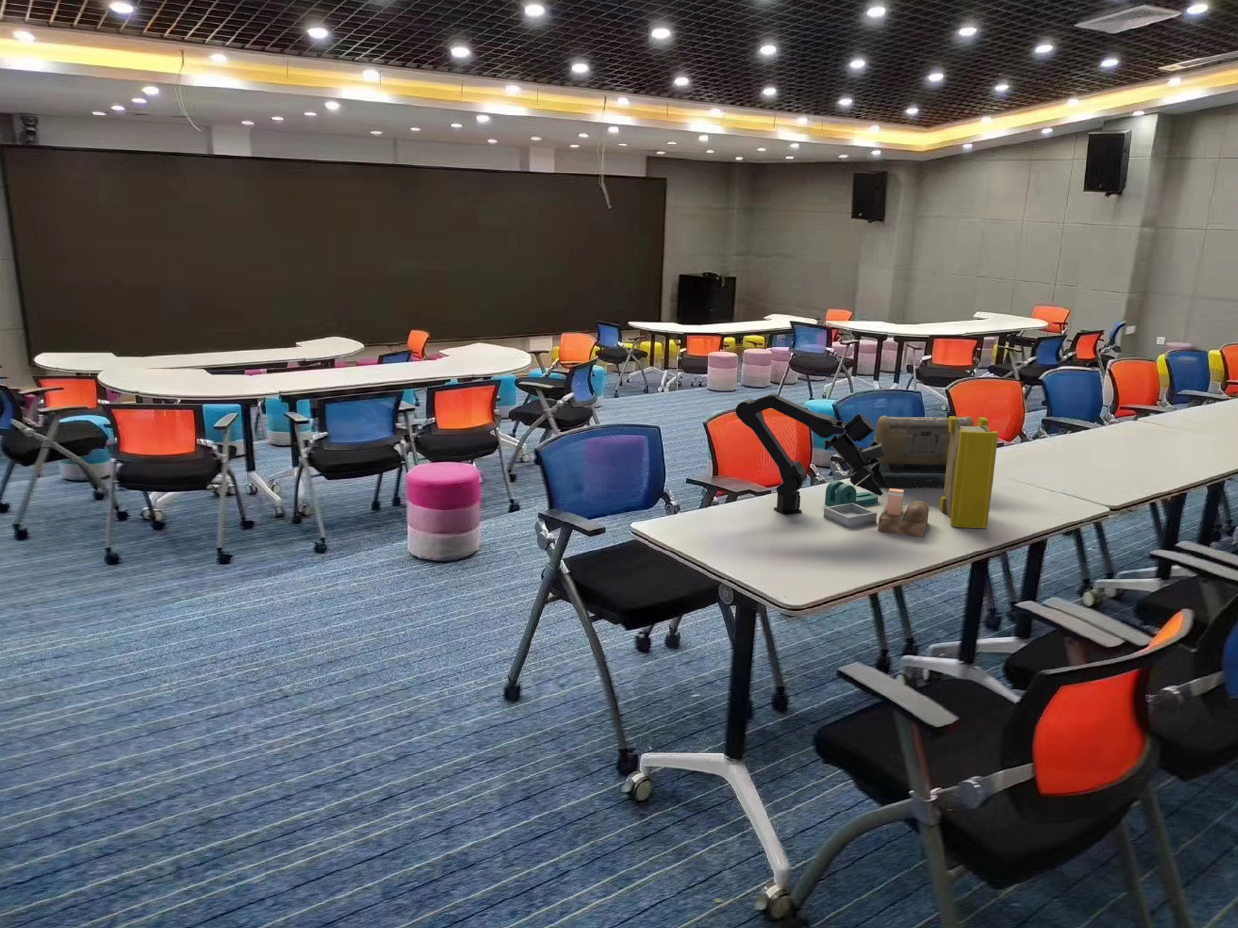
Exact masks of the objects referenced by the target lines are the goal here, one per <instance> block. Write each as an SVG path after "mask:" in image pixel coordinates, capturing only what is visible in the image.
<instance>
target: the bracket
mask: <svg viewBox="0 0 1238 928" xmlns="http://www.w3.org/2000/svg"><path fill="white" fill-rule="evenodd" d="M824 496H825V498H824V505H825V506H826V507H830V506H836V505H842V504H848V503H854V504H857V505H859V506H862V507H865V506H869V505H870V506H871V505H875V504H876V505H877V504H878V502H879V495H877V494H875V493H872V492H870V491H859V492H857V488H856V487H854V485H850V484H847V483H844V482H842V481H840V480H836V479H835V480H832V481H830V482H829V483H828V484H827V487H826V489H825V495H824Z"/></svg>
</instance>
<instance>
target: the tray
mask: <svg viewBox="0 0 1238 928" xmlns="http://www.w3.org/2000/svg"><path fill="white" fill-rule="evenodd" d="M877 517H878V512H876V511H874V510H871V509H869V508H866V507H865V506H859V505H857V504H854V503H848V504H842V505H836V506H825V507H824V508H823V518H825V519H828V520H829V521H832V522H834V523H837V524H839V525H841V526H844V527H846V528H852V527H857V526H863V525H869V524H873V523H877V519H878V518H877Z"/></svg>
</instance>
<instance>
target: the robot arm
mask: <svg viewBox="0 0 1238 928" xmlns="http://www.w3.org/2000/svg"><path fill="white" fill-rule="evenodd" d="M769 409H772V410H775V411H776V412H778V413H780V414H783V415H785V416H787V417H789V418H791V419H793V420H795V421H798V422H799V423H801V424H804V426H807V428H809V430H810V431H811V432H812V433H815V434H816V435H817V436H818V437H820V438H821V439H825V440H824V451H826V450H827V451H828V449H830V447H831V449H833V450H834V451H835V452H836V453H837V455H838V456H839V457H840V458H841V459H842V461H841V462H842V463H843V464H844V465H845V464H846V465H848V467H849V468H850V469H851V470H852V471H851V473H852V474H851V475H850V476H849V477H850V478H849V481H850V483H851V484H852V486H853V487H854V486H856V487H858V488H861V489H862V490H863V489H864V490H866V491H867V492H870V493H875V494H877V495H878V497H881V496H883V494H884V493H883V491H882V489H881V488H880V487H879V486H878V485H877V484H879V485H881V486H882V488H888V487H887V486H888V485H887V483H886V481H885V479H884V477H883V475H882V473H881V471H880V462H878V461H879V460H880V457H883V456H884V454H886V452H885V450H884V445H882V443H879V442H878V441H874V440H873V441H872V442H871V443H870V446H868V448H863V447H862V446H860V445H859V446H858V445H857V444H856V443H855V442H860V443H861V442H862V441H863V440H864V439H866V438H867V437H868V436H869V435H871V434H872V433H874V431H876V428H875V424H873V422H872V421H871V420H870V419H869V418H867V417H866V416H864V415H862V413H860V412H859V413H857V414H856V415H855V416H854V417H853V419H851V420H850V421H848V422H846V421H842V420H838V419H837V418H836V417H834V416H832V415H828V414H826V413H820V412H815V411H811V410H809V409H807V408H805V407H803V406H801V405H798V404H797V403H794V402H792V401H790V400H788V399H786V398H784V397H782V396H780V395H779V394H778V393H775V392H773V393H770V394H768V395H765V396H762V397H760V398H757V399H752V398H748V399H745V400H743V401H741V402H740V403H738V404H737V406H736V407H735V415H736V417H737V418H738V419H739V421H741V422H742V423H743V425H745V426H747V427H748V428H749V429H751V430H752V431H753V433H754V434H755V435H756V437H757V438H758V440H759V441H760V443H761V444H762V446H763V447H764V448H765V450H766V451H767V453H768V454H769V456H770V457H771V459H772V460H773V462H774V463H775V465H776V466H777V468H778V471H779V475H780V478H781V481H782V482H781V483H780V484H779V485H778V486H777V487H776V489H775V490H776V493H777V494H776V495H777V499H776V506H775V507H773V510H775V511H777V512H779V513H781V514H783V515H790V514H791V515H792V514H797V513H802V512H803V509H800V508H801V495H800V494H801V493H800V491H799V490H800V489H801V488H802V487H803V486H804V485H805V484H806V483H807V480H808V473H807V472H808V470H807V469H806V468H805V467H804V466H803V464H802V462H801V460H799V459H798V460H797V461H796V462H795V461H794V460H793V459H792V458H790V457H789V455H788V453H787V452H786V450H785V449H784V447H783V446H782V444H781V443H780V442H779V440H778V439H777V437H776V436H775V434H774V433H773V432H772V430H771V428H770V427H769V426H768V424H767V423H766V421H765V417H764V414H763V411H766V410H769ZM842 432H843V433H842ZM840 434H841V435H840ZM832 436H833V437H832ZM831 437H832V438H831ZM827 438H831V439H827ZM876 462H878V463H877V464H876Z"/></svg>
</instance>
